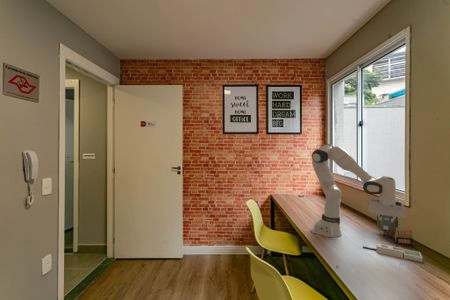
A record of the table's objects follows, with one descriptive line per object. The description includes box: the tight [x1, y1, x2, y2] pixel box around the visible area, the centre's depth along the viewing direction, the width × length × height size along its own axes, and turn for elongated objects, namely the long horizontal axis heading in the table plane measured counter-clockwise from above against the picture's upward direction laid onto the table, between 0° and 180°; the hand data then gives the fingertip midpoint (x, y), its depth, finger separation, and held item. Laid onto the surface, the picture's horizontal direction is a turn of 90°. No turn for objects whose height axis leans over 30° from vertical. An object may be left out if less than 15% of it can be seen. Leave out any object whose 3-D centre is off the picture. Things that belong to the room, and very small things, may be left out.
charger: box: [382, 215, 391, 230], centre depth 154 cm, size 5×5×9 cm
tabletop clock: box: [376, 214, 399, 240], centre depth 182 cm, size 14×9×25 cm, turn 168°
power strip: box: [362, 242, 404, 259], centre depth 155 cm, size 22×6×5 cm, turn 58°
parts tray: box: [402, 248, 424, 263], centre depth 148 cm, size 9×9×3 cm
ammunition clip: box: [394, 227, 414, 247], centre depth 167 cm, size 11×2×12 cm, turn 75°
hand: (386, 221), depth 154 cm, fingers closed on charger, 5 cm apart
